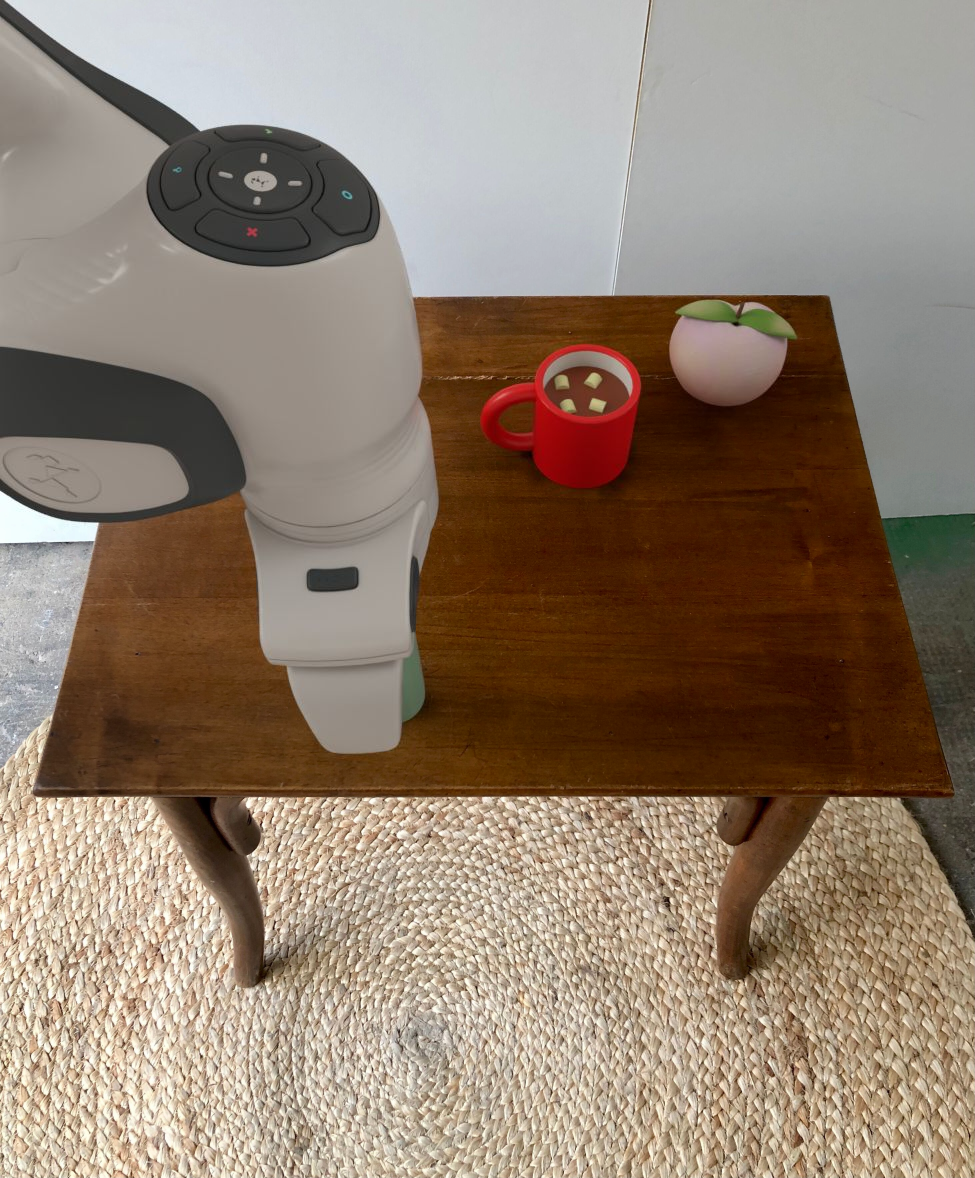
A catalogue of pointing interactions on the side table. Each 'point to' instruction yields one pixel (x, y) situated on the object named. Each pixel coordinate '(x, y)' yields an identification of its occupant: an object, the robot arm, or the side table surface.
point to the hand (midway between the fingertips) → (379, 624)
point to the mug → (573, 415)
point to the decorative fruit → (728, 350)
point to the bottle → (412, 684)
